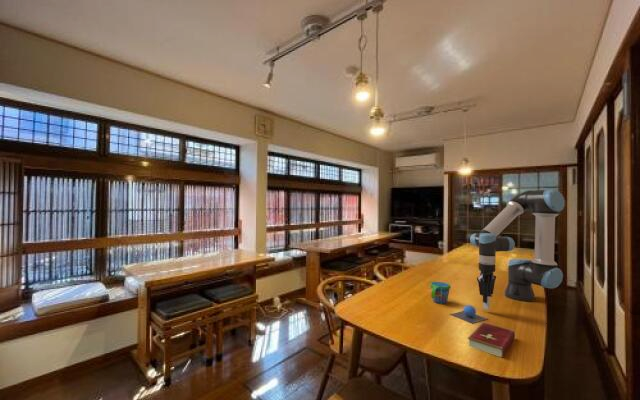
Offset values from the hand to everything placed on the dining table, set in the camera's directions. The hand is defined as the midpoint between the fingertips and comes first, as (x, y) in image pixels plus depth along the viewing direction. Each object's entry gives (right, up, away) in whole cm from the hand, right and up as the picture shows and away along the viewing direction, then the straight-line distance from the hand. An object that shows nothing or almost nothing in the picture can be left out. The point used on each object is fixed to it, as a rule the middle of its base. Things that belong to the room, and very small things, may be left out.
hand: (486, 308), depth 148 cm
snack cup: (-18, -2, +15) cm, 23 cm away
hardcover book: (-16, -2, -32) cm, 36 cm away
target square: (-13, -2, -6) cm, 14 cm away
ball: (-12, +1, -6) cm, 13 cm away
